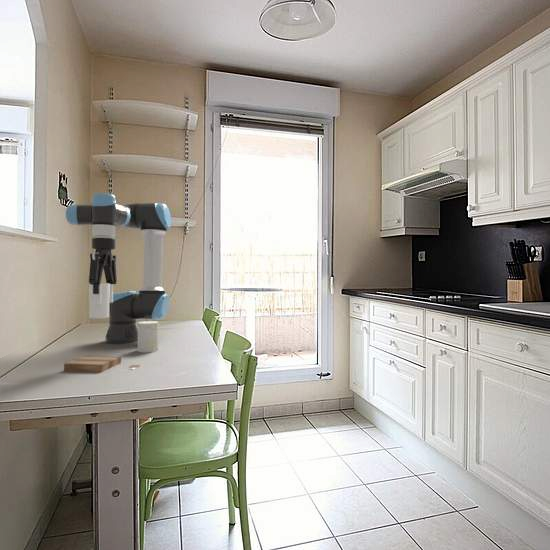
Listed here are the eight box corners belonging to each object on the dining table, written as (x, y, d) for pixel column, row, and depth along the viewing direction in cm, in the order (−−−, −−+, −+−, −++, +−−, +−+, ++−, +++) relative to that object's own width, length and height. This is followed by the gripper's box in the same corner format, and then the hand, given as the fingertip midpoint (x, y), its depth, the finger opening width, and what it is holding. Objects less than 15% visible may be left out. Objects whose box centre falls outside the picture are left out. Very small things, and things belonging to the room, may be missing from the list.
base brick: (86, 364, 148) (86, 355, 148) (120, 365, 147) (120, 356, 147) (64, 372, 135) (64, 363, 135) (101, 374, 134) (101, 364, 134)
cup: (147, 354, 164) (147, 324, 164) (133, 352, 169) (133, 322, 168) (162, 351, 171) (162, 322, 171) (149, 349, 175) (149, 320, 175)
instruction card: (127, 364, 145) (127, 363, 145) (147, 364, 146) (147, 363, 146) (118, 371, 135) (118, 370, 135) (140, 371, 136) (140, 370, 136)
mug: (109, 318, 143) (109, 283, 143) (88, 318, 141) (88, 283, 141) (109, 316, 152) (109, 283, 153) (89, 316, 150) (90, 283, 150)
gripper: (107, 240, 156) (107, 301, 156) (77, 235, 136) (76, 304, 136) (127, 240, 155) (126, 301, 155) (98, 234, 135) (98, 305, 135)
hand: (103, 302), depth 145 cm, fingers closed on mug, 7 cm apart
